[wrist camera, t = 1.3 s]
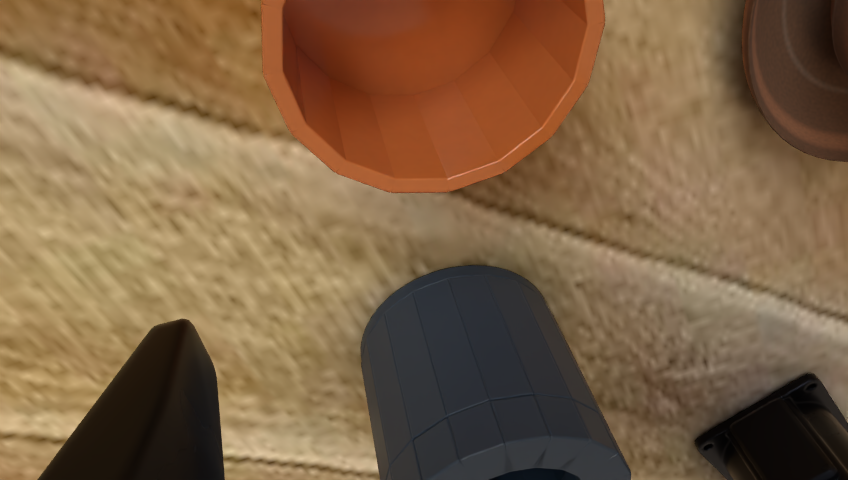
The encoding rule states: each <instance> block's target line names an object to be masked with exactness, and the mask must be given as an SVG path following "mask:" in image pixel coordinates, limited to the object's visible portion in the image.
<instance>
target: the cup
mask: <svg viewBox="0 0 848 480" xmlns="http://www.w3.org/2000/svg"><path fill="white" fill-rule="evenodd" d="M604 25H605V13H604V4H603V0H261V31H262V67H263V74H264V78H265V80H266V83H267V85H268V87H269V89H270V91H271V93H272V95H273V98H274V100H275V102H276V104H277V106H278V108H279V110H280V112H281V115H282V117H283V119H284V121H285V123H286V125H287V127H288V130H289V131H290V132H291V134H292V135H293V136H294V137H295V138H296V139H298V140H299V141H300V142H301V143H302V144H303V145H304V146H305V147H307V148H308V149H309V150H310V151H311V152H312V153H313V154H314V155H316V156H317V157H318V158H319V159H320V160H321V161H322V162H323V163H325V164H326V165H327V166H328V167H329V168H330V169H331V170H332V171H334V172H336V173H337V174H339V175H342V176H345V177H348V178H350V179H353V180H356V181H359V182H361V183H364V184H367V185H370V186H373V187H375V188H378V189H381V190H384V191H387V192H391V193H435V192H448V191H449V192H451V191H454V190H457V189H460V188H463V187H466V186H468V185H471V184H474V183H477V182H480V181H483V180H486V179H488V178H491V177H494V176H497V175H500V174H503V173H504V172H506V171H508V170H509V169H510V168H512V167H513V166H514V165H516V164H517V163H518V162H519V161H521V160H522V159H523V158H525V157H526V156H527V155H529V154H530V153H531V152H533V151H534V150H535V149H537V148H538V147H539V146H541V145H542V144H543V143H544V142H546V141H547V140H548V139H550V138H551V137H552V135H554V134H555V132H556V131H557V129H558V128H559V127H560V125H561V124H562V122H563V121H564V119H565V118H566V116H567V115H568V113H569V112H570V111H571V109H572V108H573V106H574V105H575V103H576V102H577V100H578V99H579V97H580V96H581V95H582V93H583V92H584V90H585V89H586V87H587V85H588V83H589V81H590V77H591V73H592V70H593V66H594V62H595V59H596V55H597V51H598V48H599V44H600V40H601V36H602V33H603V29H604Z"/></svg>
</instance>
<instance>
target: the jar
mask: <svg viewBox="0 0 848 480" xmlns="http://www.w3.org/2000/svg"><path fill="white" fill-rule="evenodd" d="M361 360H362V362H361V367H362V373H363V379H364V385H365V391H366V397H367V403H368V409H369V415H370V421H371V427H372V433H373V439H374V445H375V451H376V457H377V463H378V469H379V475H380V480H631V472H630V469H629V467H628V465H627V463H626V461H625V459H624V457H623V455H622V453H621V451H620V449H619V447H618V445H617V443H616V441H615V439H614V437H613V435H612V433H611V431H610V428H609V426H608V424H607V422H606V420H605V418H604V416H603V414H602V412H601V410H600V408H599V406H598V404H597V402H596V400H595V398H594V396H593V394H592V392H591V390H590V388H589V386H588V384H587V382H586V380H585V378H584V376H583V374H582V372H581V370H580V368H579V366H578V364H577V362H576V360H575V358H574V356H573V354H572V352H571V350H570V348H569V346H568V344H567V342H566V340H565V338H564V336H563V334H562V332H561V330H560V328H559V326H558V324H557V322H556V320H555V318H554V316H553V314H552V313H551V311H550V309H549V308H548V306H547V304H546V302H545V300H544V298H543V296H542V295H541V293H540V292H539V291H538V290H537V288H536V287H535V286H534V285H533V284H531V283H530V282H529V281H528V280H526V279H525V278H523V277H521V276H520V275H518V274H516V273H513V272H511V271H508V270H505V269H501V268H497V267H491V266H481V265H469V266H458V267H452V268H447V269H443V270H439V271H436V272H432V273H430V274H427V275H425V276H422V277H420V278H418V279H416V280H414V281H412V282H410V283H408V284H406V285H405V286H403V287H402V288H400V289H399V290H397V291H396V292H395V293H393V294H392V295H391V296H390V297H389V298H387V299H386V300H385V301H384V302H383V303H382V305H381V306H380V307H379V308H378V309H377V310H376V312H375V313H374V314H373V316H372V317H371V319H370V321H369V323H368V324H367V326H366V329H365V331H364V334H363V337H362V342H361Z"/></svg>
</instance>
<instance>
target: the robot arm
mask: <svg viewBox="0 0 848 480" xmlns="http://www.w3.org/2000/svg"><path fill="white" fill-rule="evenodd" d="M695 446H696V447H697V449H698V451H699V452H700V453H701V454H702V455H703V456H704V457H705V458H706V459H707V460H708V461H709V462H710V463H711V464H712V465H713V466H714V467H715V468H716V469H717V470H718V471H719V472H720V473H721V474H722V475H723V476H724V477H725V478H726V479H727V480H848V423H847V421H846V420H845V418H844V417H843V415H842V414H841V412H840V410H839V409H838V407H837V406H836V404H835V403H834V401H833V400H832V398H831V396H830V395H829V393H828V392H827V390H826V389H825V387H824V386H823V384H822V382H821V381H820V380H819V379H818V378H817V376H816V375H815V374H806V375H804V376H802V377H800V378H799V379H797V380H795V381H794V382H792V383H790V384H788V385H787V386H785V387H783V388H782V389H780V390H778V391H777V392H775V393H773V394H771V395H770V396H768V397H766V398H765V399H763V400H761V401H759V402H758V403H756V404H754V405H753V406H751V407H749V408H748V409H746V410H744V411H742V412H741V413H739V414H737V415H736V416H734V417H732V418H731V419H729V420H727V421H725V422H724V423H722V424H720V425H719V426H717V427H715V428H713V429H712V430H710V431H708V432H707V433H705V434H703V435H702V436H700V437H699V438H697V439H696V441H695ZM38 480H225V478H224V464H223V451H222V438H221V426H220V413H219V400H218V388H217V377H216V372H215V368H214V365H213V363H212V360H211V358H210V356H209V354H208V352H207V350H206V349H205V347H204V345H203V343H202V341H201V339H200V337H199V335H198V333H197V331H196V329H195V327H194V325H193V324H192V323H191V322H190V321H189V320H187V319H179V320H175V321H171V322H167V323H163V324H159V325H156V326H154V327H153V328H152V329H151V330H150V331H149V332H148V334H147V335H146V336H145V338H144V339H143V340H142V342H141V343H140V344H139V346H138V347H137V348H136V350H135V351H134V352H133V354H132V355H131V356H130V358H129V359H128V360H127V362H126V363H125V364H124V366H123V367H122V368H121V370H120V371H119V372H118V374H117V375H116V376H115V378H114V379H113V380H112V382H111V383H110V384H109V385H108V387H107V388H106V389H105V391H104V392H103V393H102V395H101V396H100V397H99V399H98V400H97V401H96V403H95V404H94V405H93V407H92V408H91V409H90V411H89V412H88V413H87V415H86V416H85V417H84V419H83V420H82V421H81V423H80V424H79V425H78V427H77V428H76V429H75V431H74V432H73V433H72V435H71V436H70V437H69V439H68V440H67V441H66V443H65V444H64V445H63V447H62V448H61V449H60V450H59V452H58V453H57V454H56V456H55V457H54V458H53V460H52V461H51V462H50V464H49V465H48V466H47V468H46V469H45V470H44V472H43V473H42V474H41V476H40V477H39V478H38Z"/></svg>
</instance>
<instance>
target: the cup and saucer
mask: <svg viewBox="0 0 848 480" xmlns="http://www.w3.org/2000/svg"><path fill="white" fill-rule="evenodd" d="M742 54H743V65H744V70H745V75H746V79H747V83H748V86H749V89H750V92H751V95H752V97H753V99H754V101H755V103H756V105H757V107H758V109H759V111H760V112H761V114H762V115H763V117H764V118H765V119H766V121H767V122H768V124H769V125H770V126H771V128H772V129H773V130H774V131H775V132H776V133H777V134H778V135H779V136H780V137H781V138H782V139H784V140H785V141H786V142H788V143H789V144H790V145H792V146H793V147H795V148H797V149H799V150H800V151H802V152H804V153H807V154H810V155H812V156H815V157H818V158H823V159H827V160H832V161H842V162H848V0H746V3H745V8H744V17H743V26H742Z"/></svg>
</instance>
